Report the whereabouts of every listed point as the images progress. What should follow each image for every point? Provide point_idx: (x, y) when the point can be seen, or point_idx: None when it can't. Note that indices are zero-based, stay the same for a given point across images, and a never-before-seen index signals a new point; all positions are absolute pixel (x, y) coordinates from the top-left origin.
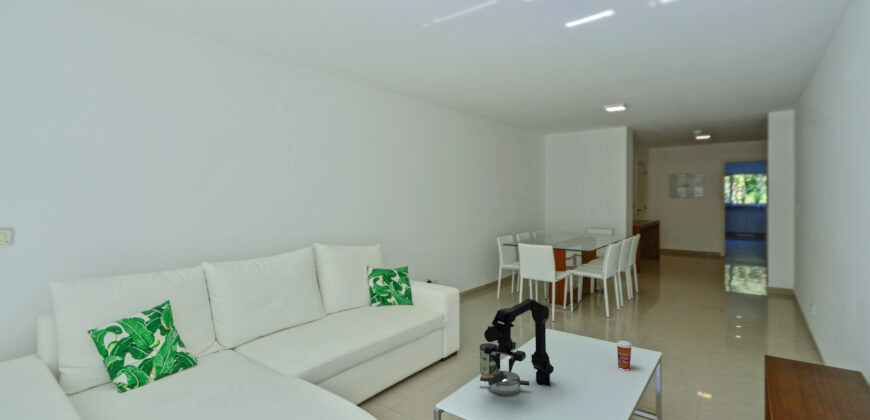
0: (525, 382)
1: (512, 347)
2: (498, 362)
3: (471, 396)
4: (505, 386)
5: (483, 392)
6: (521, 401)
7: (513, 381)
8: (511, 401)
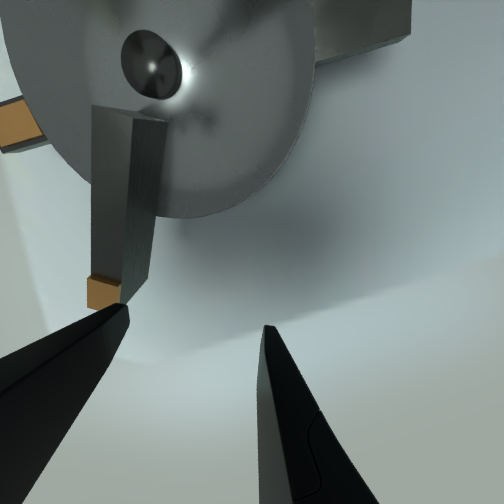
0: (368, 32)
1: None
2: (48, 424)
3: None
4: None
5: None
6: (331, 207)
7: (267, 139)
8: (279, 229)
